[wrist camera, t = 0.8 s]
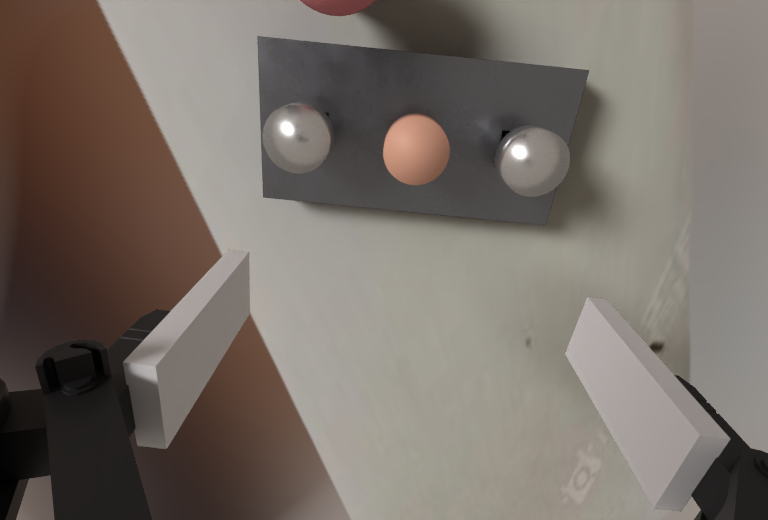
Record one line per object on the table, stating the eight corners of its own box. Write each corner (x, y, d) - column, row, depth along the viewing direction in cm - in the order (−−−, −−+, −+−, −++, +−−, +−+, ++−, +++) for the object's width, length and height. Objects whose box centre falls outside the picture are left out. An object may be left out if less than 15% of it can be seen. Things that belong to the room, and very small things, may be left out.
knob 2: (388, 105, 32) (386, 114, 26) (445, 111, 32) (454, 121, 26) (383, 162, 34) (380, 181, 28) (437, 168, 34) (444, 188, 28)
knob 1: (284, 95, 32) (261, 101, 26) (341, 100, 32) (330, 108, 26) (285, 152, 34) (263, 170, 28) (339, 158, 34) (328, 176, 28)
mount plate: (272, 39, 33) (257, 36, 30) (568, 69, 33) (589, 70, 30) (275, 184, 38) (263, 197, 35) (532, 210, 39) (545, 225, 35)
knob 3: (491, 115, 32) (510, 127, 27) (548, 121, 32) (578, 133, 27) (480, 172, 34) (496, 193, 28) (534, 177, 34) (559, 199, 28)
